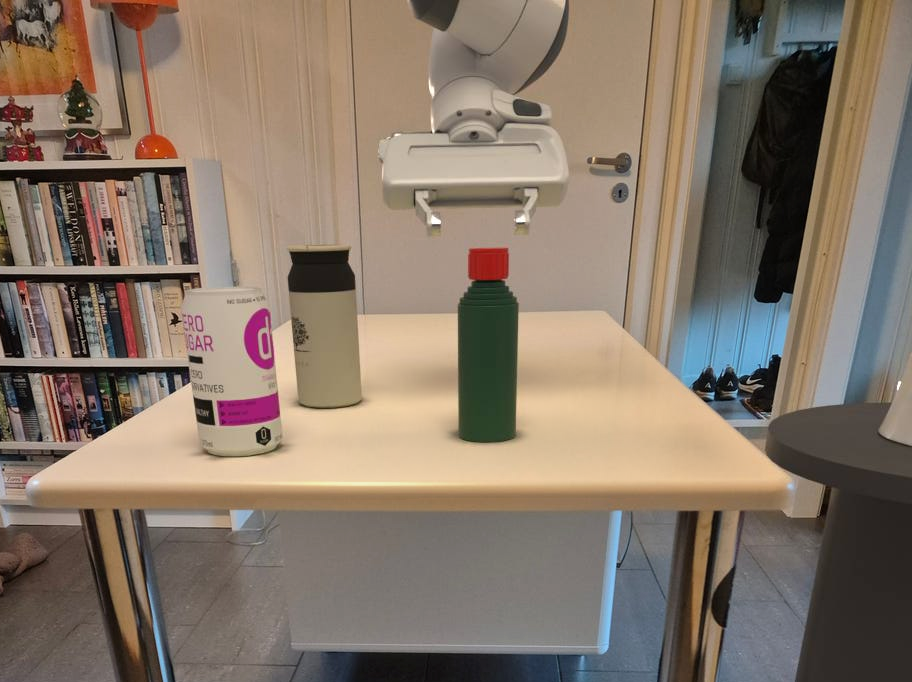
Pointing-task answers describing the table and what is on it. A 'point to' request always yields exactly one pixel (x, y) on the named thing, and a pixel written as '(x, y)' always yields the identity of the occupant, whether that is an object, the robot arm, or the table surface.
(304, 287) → the travel mug
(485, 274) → the cap
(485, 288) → the bottle
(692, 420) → the table surface
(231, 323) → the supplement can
